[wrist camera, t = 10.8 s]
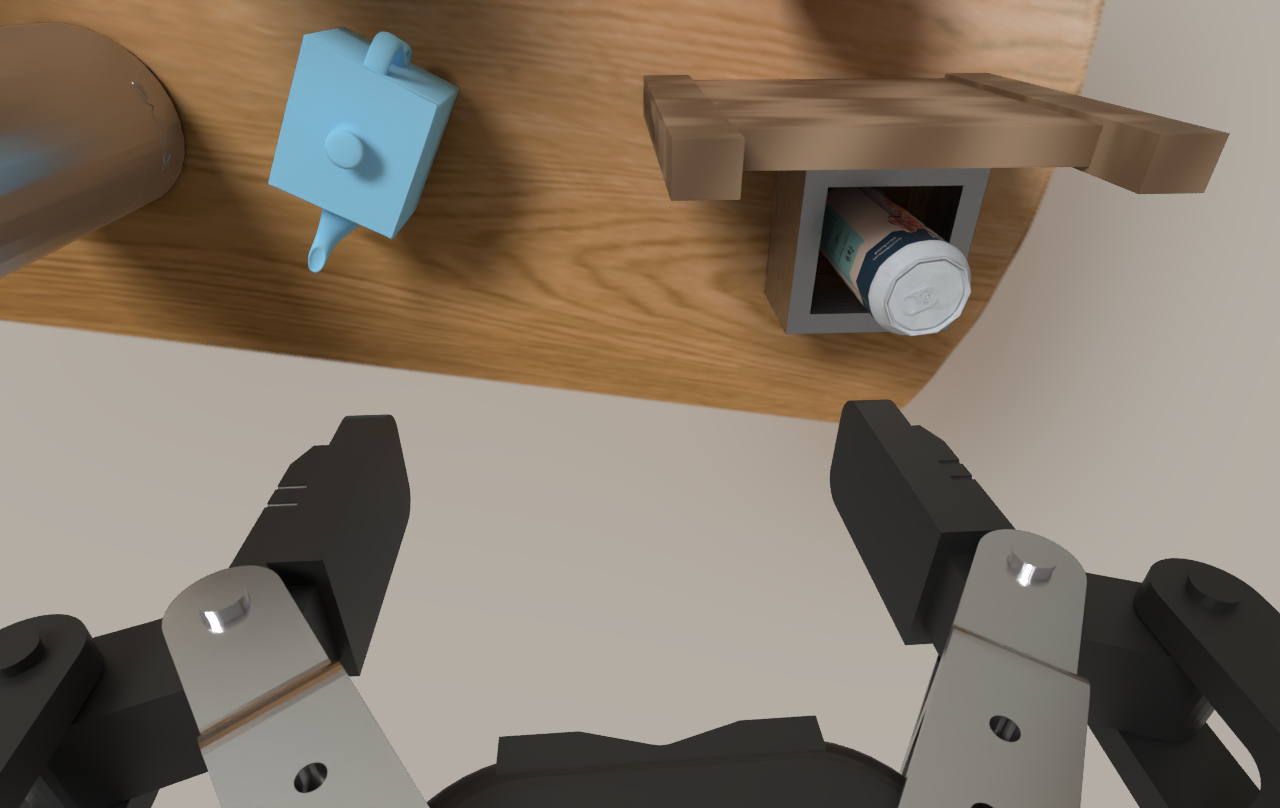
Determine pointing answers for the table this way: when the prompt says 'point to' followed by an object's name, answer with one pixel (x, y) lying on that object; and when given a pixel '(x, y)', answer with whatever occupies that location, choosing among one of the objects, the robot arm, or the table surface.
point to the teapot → (359, 134)
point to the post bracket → (797, 227)
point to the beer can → (893, 262)
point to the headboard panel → (911, 131)
